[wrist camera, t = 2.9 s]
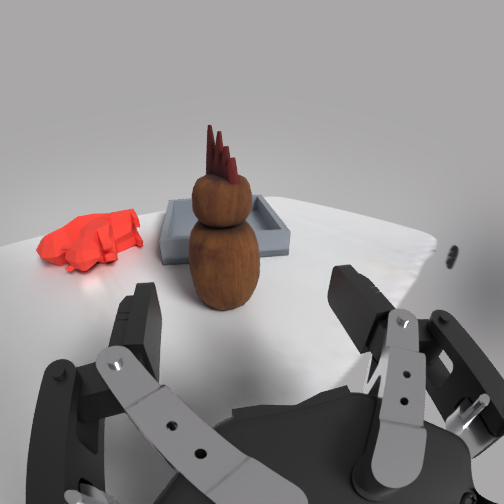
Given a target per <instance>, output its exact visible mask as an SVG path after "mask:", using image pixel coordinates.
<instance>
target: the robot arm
mask: <svg viewBox="0 0 504 504" xmlns="http://www.w3.org/2000/svg"><path fill="white" fill-rule="evenodd" d="M328 302H329V305H330V307H331V308H332V310H333V312H334V313H335V315H336V316H337V318H338V319H339V321H340V322H341V324H342V325H343V327H344V329H345V330H346V332H347V333H348V335H349V336H350V338H351V340H352V341H353V343H354V344H355V346H356V348H357V349H358V351H359V352H360V354H362V353H366V352H369V351H370V352H371V353H372V355H371V357H370V360H369V365H368V370H367V374H366V379H365V384H364V388H363V391H362V393H354V392H350V391H349V389H348V387H347V385H346V386H342V387H339V388H335V389H332V390H328V391H324V392H321V393H319V394H317V395H315V396H313V397H311V398H309V399H307V400H305V401H303V402H301V403H299V404H297V405H258V406H251V407H244V408H237V409H232V417H231V418H229V419H226V420H224V421H222V422H220V423H218V424H217V425H215V426H214V427H213V428H211V427H210V426H209V425H208V424H207V423H205V422H204V421H203V420H202V419H201V418H200V417H199V416H198V415H196V414H195V413H194V412H193V411H192V410H191V409H190V408H189V407H188V406H187V405H186V404H185V403H184V402H183V401H182V400H181V399H180V398H179V397H178V396H176V395H175V394H174V393H173V392H172V391H171V390H170V389H169V388H168V387H167V386H166V385H162V386H161V385H160V384H159V363H160V344H161V329H162V317H161V310H160V306H159V301H158V297H157V292H156V287H155V284H154V282H150V283H137V284H136V288H135V292H134V295H132V296H126V297H125V298H124V299H123V300H122V301H121V303H120V304H119V308H118V311H117V315H116V319H115V322H114V326H113V330H112V334H111V338H110V342H109V346H108V348H106V349H104V350H103V351H102V352H101V353H100V354H99V355H98V357H97V359H96V362H94V363H91V364H88V365H84V366H80V367H75V366H74V364H73V363H72V362H71V361H69V360H66V359H60V360H56V361H54V362H52V363H51V364H50V365H49V366H48V367H47V368H46V370H45V372H44V375H43V379H42V383H41V387H40V391H39V395H38V399H37V404H36V409H35V414H34V419H33V424H32V430H31V437H30V444H29V452H28V462H27V476H26V504H119V503H118V501H117V500H116V499H115V498H114V497H112V496H111V495H109V494H107V493H105V479H104V421H105V417H109V416H113V415H117V414H120V413H124V412H125V413H126V415H127V416H128V417H129V419H130V420H131V421H132V422H133V424H134V425H135V426H136V427H137V429H138V430H139V431H140V432H141V434H142V435H143V436H144V437H145V438H146V440H147V441H148V442H149V443H150V444H151V445H152V447H153V448H154V449H155V450H156V451H157V452H158V453H159V455H160V456H161V457H162V458H163V459H164V460H165V461H166V462H167V463H168V464H169V465H170V466H171V467H172V468H173V469H174V470H175V471H176V472H177V473H176V475H175V476H174V477H173V479H172V480H171V481H170V482H169V484H168V485H167V486H166V488H165V489H164V490H163V492H162V493H161V494H160V495H159V497H158V498H157V499H156V500H155V502H154V503H153V504H497V503H494V502H492V501H489V500H487V499H485V498H484V497H482V496H481V495H479V494H478V492H477V491H476V489H475V487H474V484H473V480H472V472H471V459H473V458H475V457H477V456H478V455H479V454H481V453H482V452H483V451H485V450H486V449H487V448H489V447H490V446H491V445H493V444H494V443H495V442H496V441H498V440H499V439H500V438H501V437H502V436H504V380H503V378H502V377H501V375H500V374H499V372H498V371H497V370H496V368H495V367H494V366H493V364H492V363H491V362H490V361H489V359H488V358H487V356H486V355H485V354H484V353H483V352H482V350H481V349H480V348H479V346H478V345H477V344H476V343H475V341H474V340H473V339H472V338H471V337H470V335H469V334H468V333H467V332H466V331H465V329H464V328H463V327H462V326H461V325H460V324H459V322H458V321H457V320H456V319H455V318H454V317H453V316H452V315H451V314H450V313H448V312H446V311H443V310H435V311H433V313H432V314H431V316H430V319H423V320H422V319H421V320H420V319H417V318H416V317H415V315H413V314H412V313H411V312H409V311H407V310H404V309H395V307H394V306H393V305H392V304H391V303H390V302H389V301H388V300H387V298H386V297H385V296H384V295H383V294H382V293H381V292H380V291H379V289H378V288H377V287H375V285H374V284H373V283H372V282H371V281H370V280H369V279H368V278H367V277H365V276H363V275H362V274H359V273H358V272H357V271H356V270H355V269H354V268H353V267H352V266H351V265H341V266H335V267H334V268H333V270H332V275H331V280H330V285H329V290H328ZM442 350H444V351H445V352H446V354H447V355H448V356H449V358H450V359H451V360H452V362H453V371H452V373H451V374H450V373H449V371H448V370H447V368H446V367H445V365H444V364H443V362H442V361H441V360H440V358H439V355H440V353H441V352H442ZM425 389H426V390H427V392H428V394H429V395H430V397H431V399H432V400H433V402H434V404H435V405H436V407H437V409H438V411H439V412H440V414H441V415H442V418H443V419H444V421H445V423H446V430H445V429H443V428H440V427H438V426H436V425H434V424H431V423H429V422H427V421H424V408H425V407H424V406H425Z"/></svg>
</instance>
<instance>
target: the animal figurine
mask: <svg viewBox="0 0 504 504" xmlns="http://www.w3.org/2000/svg"><path fill="white" fill-rule="evenodd" d="M136 227H140V224H139V219H138V217H137V215H136V213H135V211H134V209H129V210H123V211H118V212H112V213H105V214H90V215H84V216H78V217H77V218H75V219H74V220H72V221H71V222H69V223H68V224H67V225H65V226H64V227H62V228H60V229H58V230H56V231H54V232H52V233H50V234H48V235H46V236H44V238H43V239H42V240H41V242H40V244H39V245H38V247H37V249H36V251H37V253H38V254H39V256H40V257H41V258H42V259H44V260H46V261H48V262H51V263H53V264H56V265H59V266H63V265H65V264H66V263H69V264H70V266H69V267H67V268H66V270H68V271H69V272H70V271H72V270H74V269H75V268H76V269H78V270H81V271H86V270H88V269H90V268H91V267H92V266H93V265H94V264H95V263H96V262H101V263H107V262H111V261H115V260H118V258H117V253H119V252H121V251H124V250H126V249H128V248H130V247H132V246H134V245H136V244H137V245H138V246H143V240H142V239H141V237H140V235H139V233H138V231H137V228H136Z"/></svg>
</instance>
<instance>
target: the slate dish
mask: <svg viewBox="0 0 504 504" xmlns="http://www.w3.org/2000/svg"><path fill="white" fill-rule="evenodd" d="M197 221H198V219H197V217H196V216H195V214H194V212H193V209H192V198H191V199H178V200H169V203H168V207H167V211H166V215H165V219H164V223H163V227H162V231H161V235H160V240H159V243H160V250H161V257H162V263H163V265H170V264H182V263H189V239H190V233H191V231H192V229H193V227H194V225H195V224H196V222H197ZM246 221H247V222H248V223H249V224H250V226H251V227H252V229H253V230H254V232H255V235H256V238H257V242H258V245H259V257H269V256H281V255H288V254H289V243H290V230H289V229H288V228H287V227H286V225H285V224H284V223H283V221H282V220H281V219H280V218H279V216H278V215H277V214H276V213H275V211H274V210H273V209H272V208H271V206H270V205H269V204H268V203H267V201H266V200H265V199H264V198H263V196H262V195H252V209H251V212H250V214H249V216H248V217H247V219H246Z"/></svg>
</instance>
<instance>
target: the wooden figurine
mask: <svg viewBox="0 0 504 504" xmlns="http://www.w3.org/2000/svg"><path fill="white" fill-rule="evenodd" d="M192 209H193V212H194V214H195V216H196V217H197V219H198V221H197V222H196V224H195V225H194V227H193V229H192V231H191V233H190V239H189V263H190V270H191V274H192V278H193V282H194V286H195V288H196V291H197V293H198V295H199V296H200V298H201V300H202V301H203V302H204V303H205V304H206V305H208V306H210V307H213V308H215V309H217V310H224V311H226V310H231V309H234V308H237V307H239V306H242V305H244V304H245V303H246V302H247V301H248V300H249V299H250V297H251V296H252V294H253V292H254V290H255V288H256V285H257V282H258V279H259V273H260V258H259V245H258V242H257V238H256V235H255V232H254V230H253V229H252V227H251V226H250V224H249V223H248V222H247V221H246V219H247V217H248V216H249V214H250V212H251V209H252V193H251V189H250V185H249V183H248V181H247V179H246V178H245V177H243V176H241V175H238V173H237V166H236V160H235V158H230V153H229V147H228V146H224V147H223V142H222V135H221V131H218V132H217V137H216V145H215V141H214V136H213V131H212V126H211V125H208V130H207V154H206V175H205V176H203V177H201V178H199V179H198V180H197V181H196V183H195V185H194V187H193V192H192Z"/></svg>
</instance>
